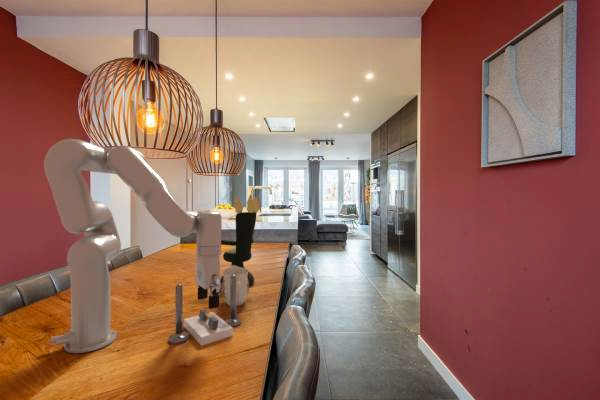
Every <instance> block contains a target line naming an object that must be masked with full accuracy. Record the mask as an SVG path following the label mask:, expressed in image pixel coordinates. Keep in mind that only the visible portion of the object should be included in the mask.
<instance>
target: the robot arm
mask: <svg viewBox="0 0 600 400" xmlns="http://www.w3.org/2000/svg"><path fill="white" fill-rule="evenodd" d="M43 170H44V173H45V174H44V175H45V177H46V179H47V181H48V184H49V188H50V189H51V193H52V197H53V201H54V203H55V207H56V209H57V212H58V215H59V218H60V221H61V224H62V227H63V228H64V229H65V230H66V231H67V232H68V233H70V234H77V235H79V234H83V238H81V239H78V240H77V241H76V242H74V243H73V244H72V245H71V246H70V248H69V249H68V251H67V256H66V261H67V267H68V272H69V277H70V279H69V280H70V328H69V331H68V332H65V333H64V334H61V335H54V336H51V337H50V345H54V344H55V346H56V347H58V346H60V345H63V346H64V349H63V350H65V352H67V353H70V354H83V353H88V352H92V351H97V350H99V349H102V348H105V347H106V346H109V345H111V344H112V343H113V342H114V341H115V340H116V338H117V331H115V330H113V329H111V276H110V271H109V266H108V263H109V262H112V261H113V260H114V259H116V257H118V256H119V254H120V252H121V248H122V242H121V238H120V235H119V232H118V229H117V227H116V222H115V219H114V217H113V213H112V211H111V210H110V208H109V207H108V206H107V205H106V204H104V203H102V202H100V201H97V200H94V199H93V197H92V194H91V192H90V189H89V188H90V187H89V185H88V183H87V180H86V179H85V178H84V176H83V174H82V171H85V172H93V173H101V174H103V173H104V174H112V175H117V176H118V177H119V178H120V180H122V181H123V182H124V184H126V186H127V187H128V188H129V189H130V190H131V191H132V192H134V194H135V195H136V196H137V197H138V198H139V200H140V201H141V203H142V204H143V206H144V207H145V208H146V210H147V211H148V213H149V214H150V215H151V217H153V219H155V221H157V223H158V224H159V225H160V226H161V227H162V228H163V229H164V230H165V231H166V232H167V233H169V234H170V235H171V236H173V237H176V238H184V237H185V238H186V237H187V236H189V235H190V234H193V233H195V234H196V256H197V257H196V262H195V277H194V278H195V279H194V280H195V281H194V282H195V283H196V284H197V300H198V301H199V300H206V299H208V309H209V310H213V309H217V308H219V307H220V295H221V289H222V285H221V283H220V280H221V261H220V260H221V259H220V256H221V255H222V244H221V239H222V214H221V213H220V212H218V211H217V212H216V211H201V212H198V211H191V210H184V208H182V207H181V206H180V205H179V204H178V203H177V201H176V200H174V198H173V196H172V195H171V194H170V193H169V191H168V189H167V185H166V183H165V181H164V180H163V178H162V177H160V175H159V174H158V173H157V172H156V171H155V170H154V169H153V168H152V167H151V166H150V165H149V164H148V163H147V158H146V157H145V156H144V154H143V153H142V152H140V151H139V150H138V149H137V150H136V149H134V148H133V147H130V146H127V145H119V146H115V147H106V146H100V145H97V144H93V143H91V142H88V141H85V140H82V139H77V138H66V139H62V140H60V141H58V142H56V143H55V144H53V145H52V146H51V147H50V148H49V150H48V151H47V153H46V154H45V157H44V162H43ZM208 293H209V296H208Z"/></svg>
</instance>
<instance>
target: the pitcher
mask: <svg viewBox="0 0 600 400" xmlns="http://www.w3.org/2000/svg"><path fill="white" fill-rule="evenodd" d="M248 271H249V270H248V269H247V268H245V267H244V268H242V267H238V266H236V265H232V264H231V265H230V266H229V267H227V268H225V269H223V270H222V276H223V277H224V278H223V282H222V285H221V292H222V297H223V300H224V302H225V303H226V304H227V305H228V306H230V277H231V275H233V274H234V275H236V307H238V306H239V307H240V306H241V305H243V304H244V303H245V302H246V300H247V299H248V298H247V297H248V295H249V290H250V286H249V281H248V278H247V275H248Z"/></svg>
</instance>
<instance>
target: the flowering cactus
mask: <svg viewBox="0 0 600 400" xmlns="http://www.w3.org/2000/svg"><path fill="white" fill-rule="evenodd" d="M234 208H235V209H234V210H235V212H236V214H235V241H234V240H225V239H222V238H221V246H222V245H223V246H231V247H230V248H228V249H227V250H225V252H224V253H223V254H222V258H223V261H225V262H227V263H231V265H236V266H238V267H242V268H245V265H244V263H245V262H248V261H249V260H251V259H252V257H253V255H252V244H253V243H254V241H255V240H254V238H253V237H254V232H255V227H256V223H257V213H258V212H259V211H260V203H259V199H258V196H257V195H256V196H255V197H254V198H253V196H252V194H251V193H250V194H249V196H248V199H247V201H246V212H245V211H244V212H243V209H244V206H243V204H242V202H241V200H240V198H239V196H238V194H236V197H235V199H234ZM223 278H224V277H223V275H222V277H220V283H221V286H222V282H223ZM247 278H248V281H249V287H250V286H252V285H253V284H254V282H255V277H254V276H253V274H252V273H251V272H250V271H249V270H248V275H247Z"/></svg>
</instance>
